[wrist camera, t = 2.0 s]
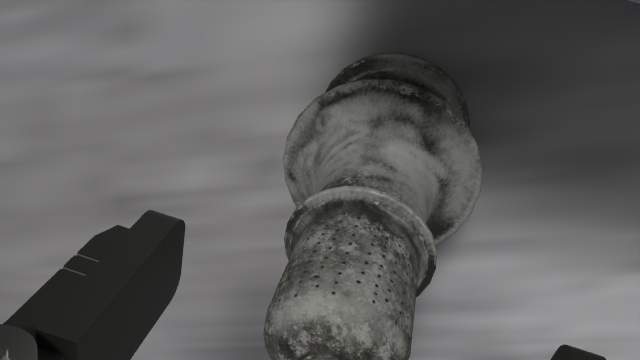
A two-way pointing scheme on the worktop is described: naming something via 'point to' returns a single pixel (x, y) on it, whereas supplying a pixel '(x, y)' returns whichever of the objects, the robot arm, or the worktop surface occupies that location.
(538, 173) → the worktop surface
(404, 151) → the stone finial
